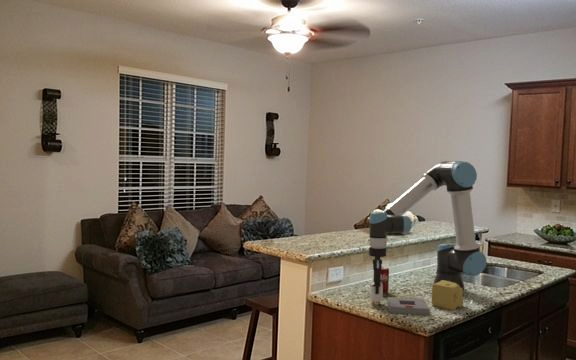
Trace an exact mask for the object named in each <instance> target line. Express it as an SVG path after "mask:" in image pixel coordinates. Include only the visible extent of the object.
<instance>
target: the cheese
mask: <svg viewBox="0 0 576 360" xmlns="http://www.w3.org/2000/svg"><path fill="white" fill-rule="evenodd" d="M463 294H464V292H463V290H462V288H460V285H458V284H457V283H453V282H449V281H445V280H441V281H440V282H438V283H435V284H433V283H432V287H431V303H432V304H431V305H432V306H433V307H437V308H440V309H441V308H442V309H447V310H452V311H453V310H456V309H457V308H461V307H463V305H464V298H463Z"/></svg>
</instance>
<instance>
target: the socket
mask: <svg viewBox="0 0 576 360" xmlns="http://www.w3.org/2000/svg"><path fill="white" fill-rule="evenodd" d="M386 298H387V299H386V302H387V308H388V312H389V313H390V314H391V313H392V314H404V313H405V314H406V315H407V314H408V315H421V314H423V315H425V316H429V315H430V309H429V306H428V304H427V302H426V300H425V298H414V297H398V296H397V297H396V296H387V297H386ZM405 314H404V315H405Z"/></svg>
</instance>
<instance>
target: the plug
mask: <svg viewBox="0 0 576 360" xmlns="http://www.w3.org/2000/svg"><path fill="white" fill-rule="evenodd" d="M380 284H381V285H380V301H373V300H374V286H373V285H374V282H373V281H371V282H370V301H371V304H373V305H374V306H378V305H381V302H383V299H384V297H383V296H384V294H383V284H382V283H380Z"/></svg>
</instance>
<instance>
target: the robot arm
mask: <svg viewBox="0 0 576 360" xmlns="http://www.w3.org/2000/svg"><path fill="white" fill-rule="evenodd" d="M477 177H478V173H477V170H476V168H475V167H474V165H472V164H471V163H470V162H469V161H468V162H467V161H462V160H459V161H458V160H455V161H454V160H453V161H450V160H449V161H448V160H447V161H441V162H439V163H437V164H435V165H434V166H432V167H431V168H430V169H428V170H427V171H426V172H424V173H423V174H422V175H421V178H420V179H419V180H418V181H417V182H416V183H414V184H413V185H412V186H411V187H410V188H409V189H407V190H406V191H405V192H404V193H402V194H401V195H400V196H398V198H396V200H394V201H393V202H392V203H391V204H389V205H388V206H387V207H386V208H385V209H383V210H382V211H372V212H370V216H369V238H368V239H367V242H369V243H368V245H369V248H368V255H369V256H370V257H374V258H373V259H372V269H373V277H372V279H373V280H372V282H374V285H373V286H374V300H373V301H374V302H375V301H380V285H381V284H380V283H381V281H380V276H381V266H383V265H382V264H383V260H382V259H381V258H385V257H387V240H388V238H387V235H388V234H405V233H409V232H410V231H411V229H412V219H411V218H410V217H409V216H407V215H404V214H406V213H407V212H408V211H410V210H411V209H412V208H413V207H414V206H415V205H416V204H418V203H419V202H420V201H421V200H422V199H423V198H425V197H426V196H427V195H428V194H430V192H432V191H437V189H439V188H440V187H443V186H445V187H446V192H447V193H448V194H449V195H450V198H451V200H450V201H451V208H452V214H453V215H452V216H453V224H454V233H455V242H456V243H439V244H438V246H437V251H436V253H437V254H436V274H435V277H434V280H433V283H432V285H433V284H435V283H438V282H440V281H441V280H445V281H449V282H453V283H457V284H458V285H460V288H462V290H463V293H464V292H465V284H464V280H463V276H462V274H464V275H465V276H466V275H467V276H472V277H477V276H479V275H481V273H483V272H484V270H485V268H486V266H487V257H486V255H485V254H484V253H483V252H481V249H480V244H479V243H477V242H476V234H475V233H476V232H475V226H474V217H473V216H474V215H473V210H472V209H473V208H472V207H473V206H472V201H471V199H472V198H471V192H472V190H473V189H474V187H473V186H474V184H475V183H476V181H477ZM380 302H381V301H380Z"/></svg>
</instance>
